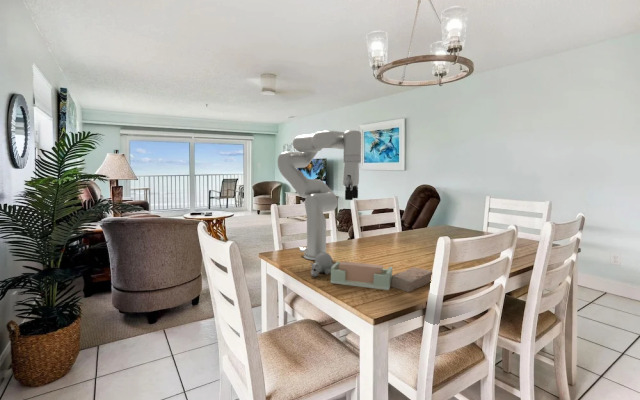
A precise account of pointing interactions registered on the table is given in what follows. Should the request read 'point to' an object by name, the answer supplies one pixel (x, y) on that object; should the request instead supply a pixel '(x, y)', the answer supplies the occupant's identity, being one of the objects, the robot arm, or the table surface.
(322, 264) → the chubby cartoon animal
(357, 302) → the table surface
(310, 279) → the table surface
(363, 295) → the table surface
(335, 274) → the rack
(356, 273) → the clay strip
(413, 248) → the table surface
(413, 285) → the brick
